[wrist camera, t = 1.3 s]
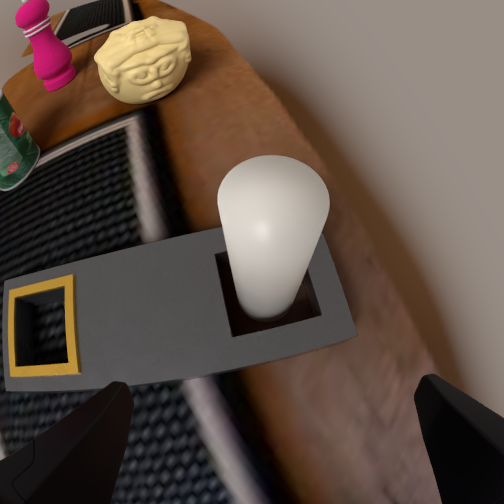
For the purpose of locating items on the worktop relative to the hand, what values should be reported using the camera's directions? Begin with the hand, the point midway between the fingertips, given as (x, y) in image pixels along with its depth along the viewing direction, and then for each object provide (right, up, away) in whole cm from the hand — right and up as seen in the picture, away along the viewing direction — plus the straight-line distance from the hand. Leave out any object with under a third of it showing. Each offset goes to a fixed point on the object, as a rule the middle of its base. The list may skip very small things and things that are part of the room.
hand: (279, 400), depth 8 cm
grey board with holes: (-9, -1, +14) cm, 16 cm away
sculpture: (-14, +26, +27) cm, 40 cm away
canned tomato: (-32, +15, +22) cm, 42 cm away
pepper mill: (-34, +34, +31) cm, 58 cm away
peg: (0, +1, +15) cm, 15 cm away
